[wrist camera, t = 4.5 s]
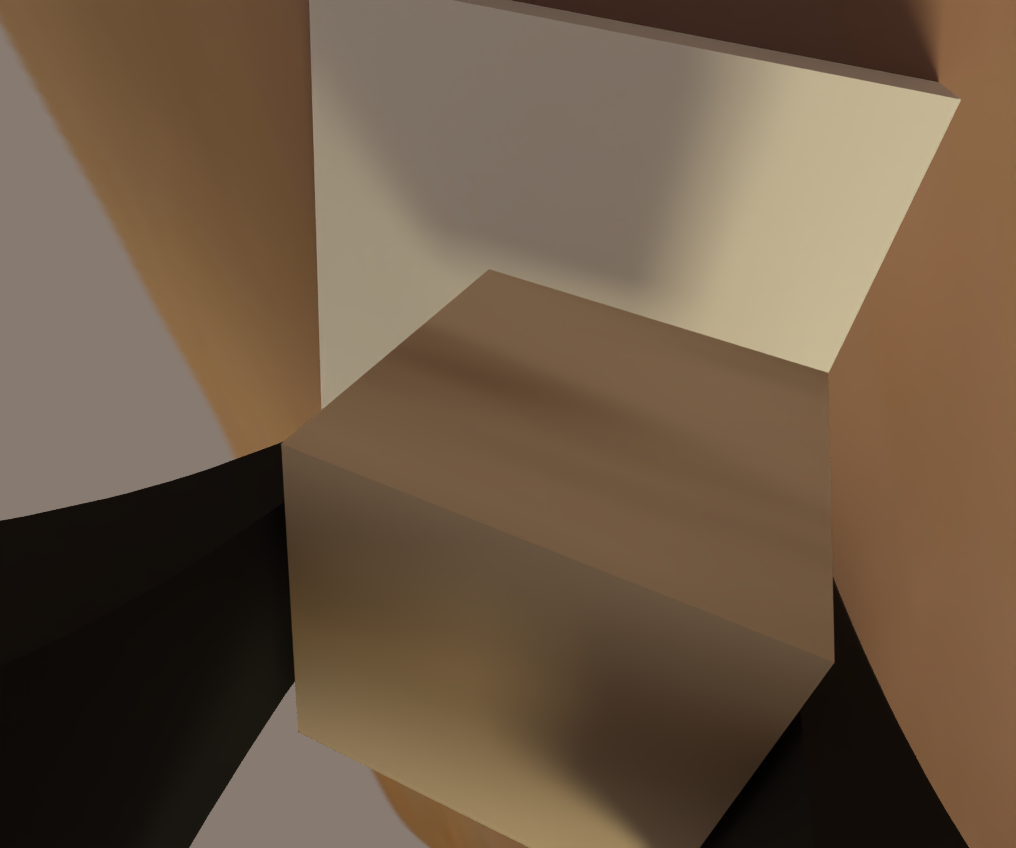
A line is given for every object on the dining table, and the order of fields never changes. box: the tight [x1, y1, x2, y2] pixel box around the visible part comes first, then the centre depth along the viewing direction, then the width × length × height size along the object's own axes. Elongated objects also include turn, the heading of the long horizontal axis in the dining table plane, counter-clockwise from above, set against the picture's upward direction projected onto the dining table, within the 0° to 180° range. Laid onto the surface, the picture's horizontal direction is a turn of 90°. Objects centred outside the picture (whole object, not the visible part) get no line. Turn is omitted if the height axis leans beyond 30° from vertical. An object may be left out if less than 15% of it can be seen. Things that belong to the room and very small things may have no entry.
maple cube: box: [281, 269, 834, 848], centre depth 9 cm, size 5×5×5 cm
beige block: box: [309, 0, 961, 409], centre depth 17 cm, size 12×12×3 cm
